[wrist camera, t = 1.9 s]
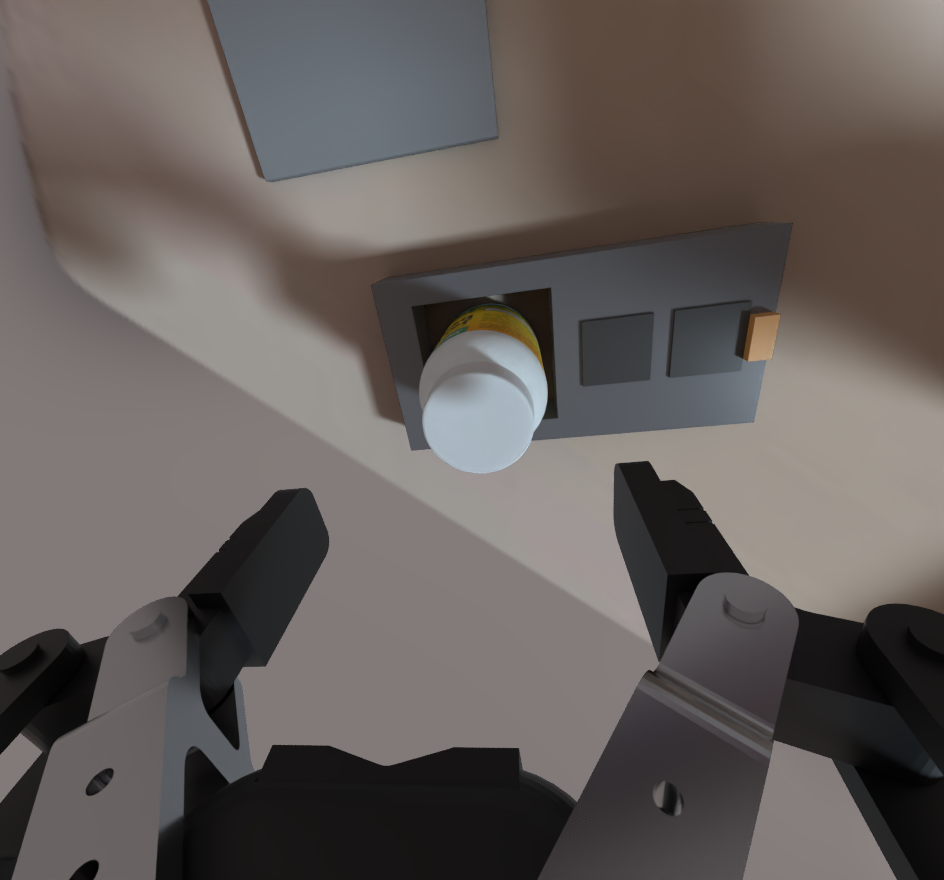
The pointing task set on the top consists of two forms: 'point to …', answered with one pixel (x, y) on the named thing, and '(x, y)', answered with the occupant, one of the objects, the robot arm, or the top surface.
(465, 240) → the top surface
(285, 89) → the charging mat
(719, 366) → the gray slotted block
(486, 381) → the supplement bottle
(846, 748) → the robot arm
